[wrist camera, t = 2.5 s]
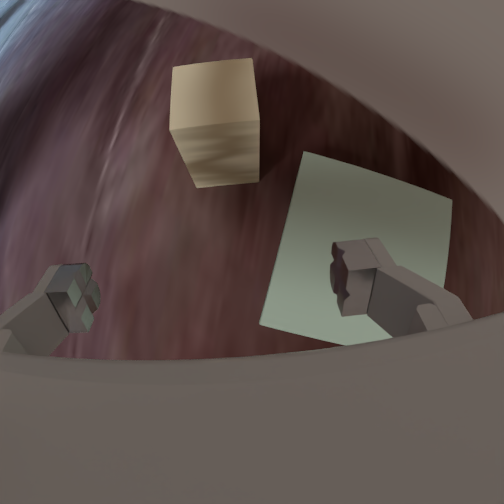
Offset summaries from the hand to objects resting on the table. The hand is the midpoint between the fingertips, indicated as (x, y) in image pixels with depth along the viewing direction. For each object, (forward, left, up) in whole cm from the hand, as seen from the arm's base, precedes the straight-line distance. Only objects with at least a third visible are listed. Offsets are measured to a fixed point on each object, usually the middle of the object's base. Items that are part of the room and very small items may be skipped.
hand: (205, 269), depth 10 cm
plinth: (+8, +4, -14) cm, 17 cm away
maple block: (-4, +10, -14) cm, 18 cm away
